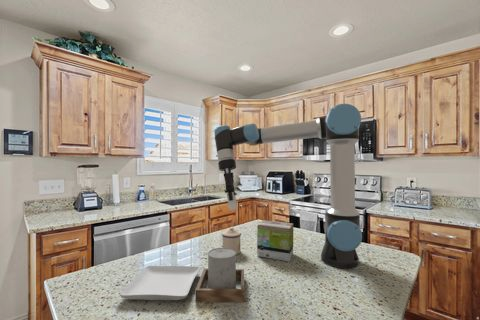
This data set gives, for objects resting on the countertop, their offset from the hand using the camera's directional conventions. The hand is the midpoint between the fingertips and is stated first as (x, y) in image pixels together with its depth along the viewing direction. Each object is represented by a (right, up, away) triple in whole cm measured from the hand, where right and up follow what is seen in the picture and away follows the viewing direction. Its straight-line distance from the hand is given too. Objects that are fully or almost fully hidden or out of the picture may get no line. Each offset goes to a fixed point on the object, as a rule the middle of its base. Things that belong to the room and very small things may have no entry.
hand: (233, 209), depth 100 cm
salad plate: (-23, -24, -17) cm, 37 cm away
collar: (-3, -23, -18) cm, 30 cm away
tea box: (+19, -24, +11) cm, 32 cm away
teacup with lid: (-2, -24, +16) cm, 29 cm away
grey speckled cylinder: (-3, -23, -18) cm, 30 cm away
